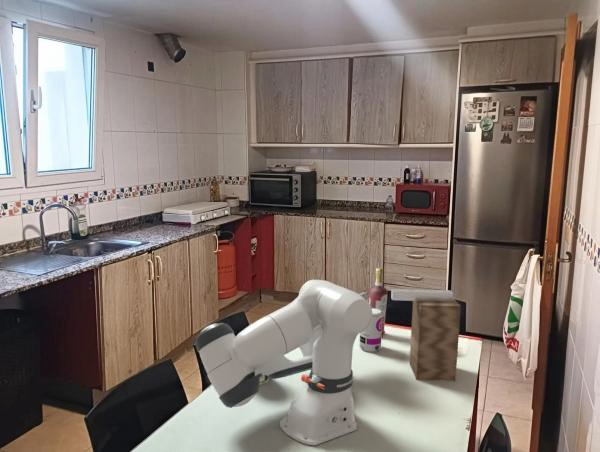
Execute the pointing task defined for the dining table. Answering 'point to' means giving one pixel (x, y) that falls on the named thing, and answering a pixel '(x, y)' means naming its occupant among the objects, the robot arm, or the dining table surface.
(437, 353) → the walnut stand
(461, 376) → the dining table surface
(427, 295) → the aluminium bar
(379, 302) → the liquor
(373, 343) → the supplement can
